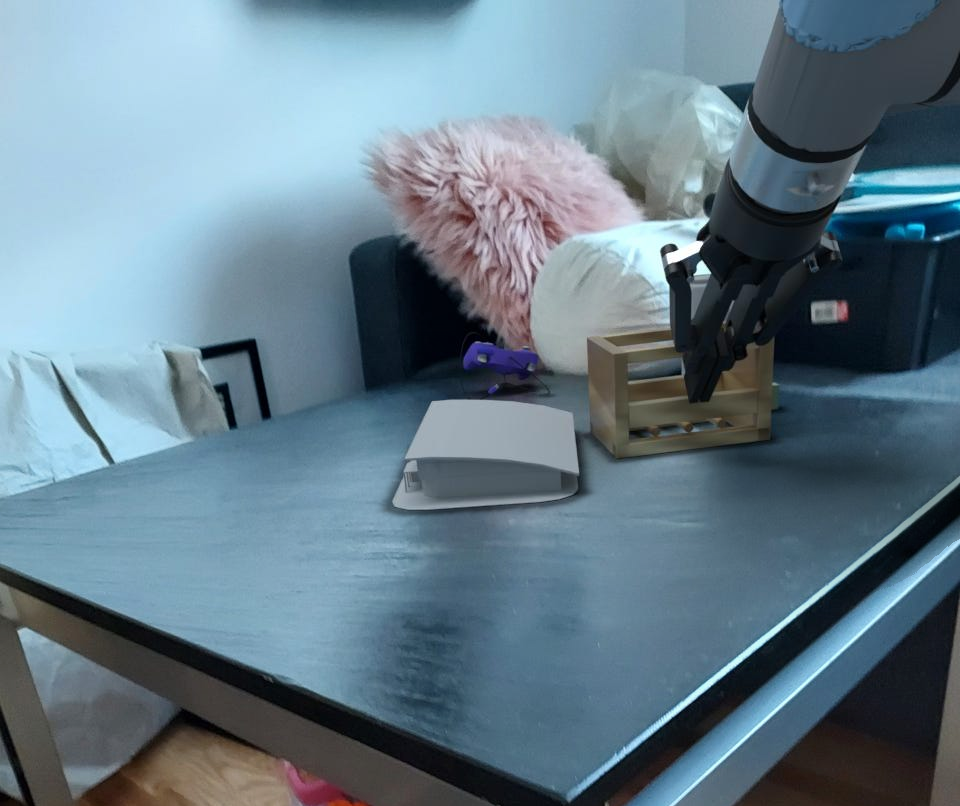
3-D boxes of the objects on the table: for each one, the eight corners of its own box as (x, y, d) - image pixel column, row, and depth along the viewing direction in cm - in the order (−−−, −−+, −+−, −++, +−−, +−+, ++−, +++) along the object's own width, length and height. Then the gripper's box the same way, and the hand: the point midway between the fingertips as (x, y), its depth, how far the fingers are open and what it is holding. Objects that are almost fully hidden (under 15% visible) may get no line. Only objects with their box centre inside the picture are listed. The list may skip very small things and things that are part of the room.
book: (387, 512, 76) (380, 464, 74) (421, 438, 96) (416, 400, 95) (580, 499, 74) (578, 450, 73) (572, 427, 95) (571, 387, 93)
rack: (729, 415, 93) (732, 320, 90) (770, 439, 85) (774, 335, 81) (590, 432, 92) (586, 336, 89) (616, 458, 84) (613, 353, 80)
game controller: (527, 346, 118) (558, 338, 109) (518, 413, 119) (547, 411, 110) (451, 331, 115) (476, 322, 105) (442, 400, 116) (466, 397, 107)
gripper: (693, 228, 58) (627, 433, 81) (903, 213, 59) (780, 420, 81) (672, 134, 61) (613, 358, 83) (873, 121, 62) (762, 346, 84)
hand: (696, 389), depth 82 cm, fingers closed
